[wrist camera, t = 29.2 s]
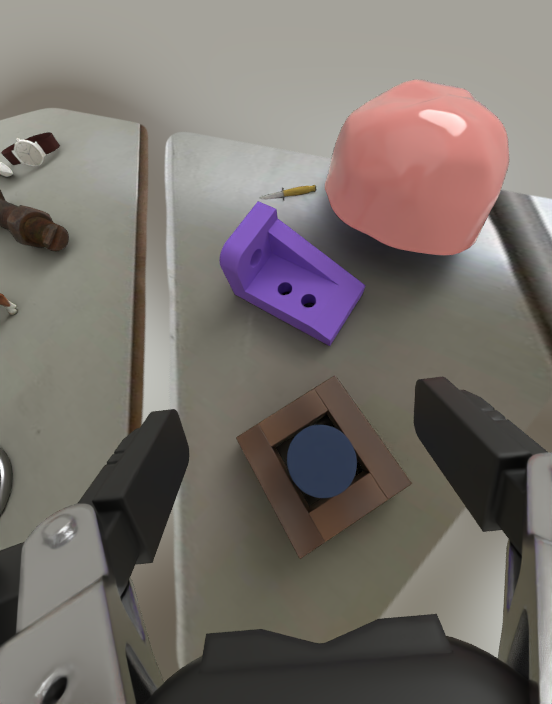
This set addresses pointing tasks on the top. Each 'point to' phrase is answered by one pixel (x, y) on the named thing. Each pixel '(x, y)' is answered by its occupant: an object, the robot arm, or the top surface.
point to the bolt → (32, 226)
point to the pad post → (321, 461)
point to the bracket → (288, 275)
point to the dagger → (290, 192)
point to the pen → (5, 170)
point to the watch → (31, 149)
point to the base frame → (284, 495)
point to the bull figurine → (8, 305)
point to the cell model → (419, 168)
